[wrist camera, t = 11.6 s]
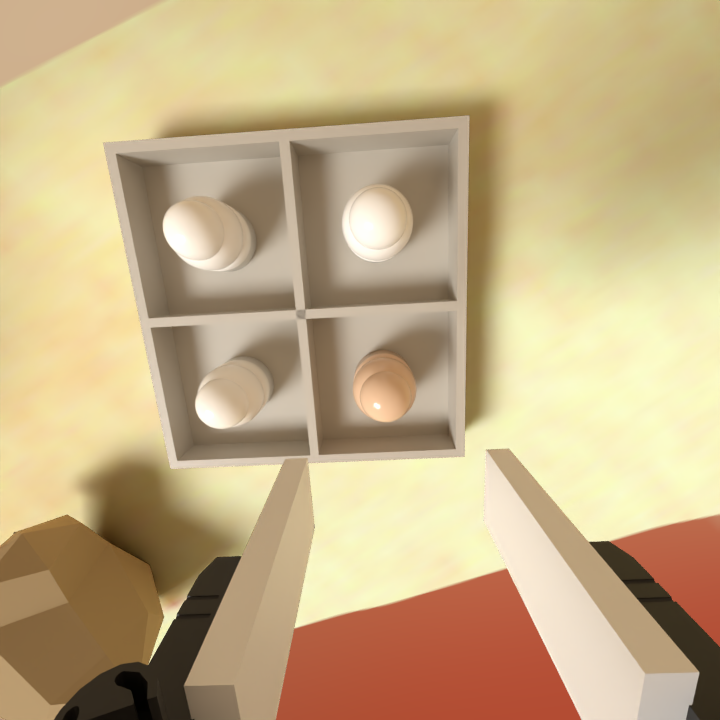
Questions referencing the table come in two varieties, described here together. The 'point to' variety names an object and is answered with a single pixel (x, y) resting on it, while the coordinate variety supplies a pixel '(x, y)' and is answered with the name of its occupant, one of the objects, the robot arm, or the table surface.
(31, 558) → the low-poly potato
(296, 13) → the table surface
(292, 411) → the carton
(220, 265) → the white egg
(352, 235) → the white egg
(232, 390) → the white egg
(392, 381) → the brown egg
